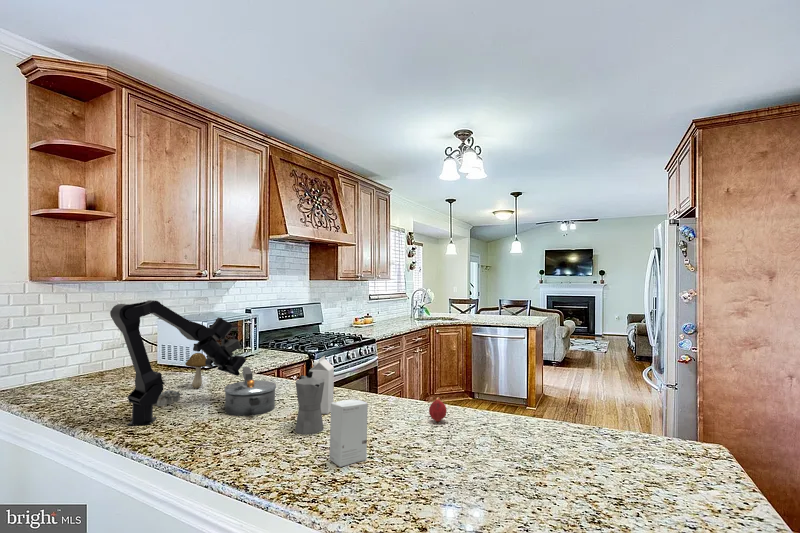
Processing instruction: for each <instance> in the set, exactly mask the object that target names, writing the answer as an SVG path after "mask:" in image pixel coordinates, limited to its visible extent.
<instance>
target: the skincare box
mask: <svg viewBox="0 0 800 533" xmlns="http://www.w3.org/2000/svg"><path fill="white" fill-rule="evenodd" d="M368 405H369V403H368V402H366V401H365V400H362V399H357V398H355V399H345V400H339V401H333V402H332V403H331V411H330V422H329V424H330V425H329V430H330V431H329V461H331V462H333V464H335V465H337V466H338V467H339V468H341V467H342V468H343V467H345V466H348V465H351V464H355V463H359V462H363V461H366V460H367V456H368V455H367V450H368V447H367V446H368V411H369V410H368V408H369V406H368Z"/></svg>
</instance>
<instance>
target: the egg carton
mask: <svg viewBox="0 0 800 533" xmlns="http://www.w3.org/2000/svg"><path fill="white" fill-rule="evenodd" d="M182 394H183V392H180V391H176V390H171V389H167V390H165V391H162V393H161V394H160V395H159V398H158V401H157V403H156V404H153V406H157V407H163V406H167V404H173V403H174V402H179V401H181V396H182Z"/></svg>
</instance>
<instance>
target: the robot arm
mask: <svg viewBox="0 0 800 533" xmlns="http://www.w3.org/2000/svg"><path fill="white" fill-rule="evenodd" d="M109 314H110V315H109V316H110V317H111V320H112V321H113V323H114V325H115V326H116V328H117V329H118V330H119V331H120V332H121V334H122V336H123V338H124V342H125V345H126V348H127V350H128V354H129V356H130V359H131V362H132V365H133V369H134V371H135V377H134V378H135V379H134V386H135V388H134V389H133V390H132V391H131V392H130V393H129V394H128V396H127V400H128V403H131V404H132V408H131V410H132V411H131V413H132V415H131V416H132V417H131V421H129V422H128V423H127V424H126V425H127V426H146V425H147V426H149V425H151V424H152V423H153V422H154V421H156V420H157V416H154V415H153V412H154V410H153V409H154V405H153V404H156V403H157V401H158V398H159V395H160V394H161V393H162V392H164V385H165V383H166V382H165V381H163V377H162V376H163V375H162V372H159V371H155V370H153V368H152V365H151V362H150V359H149V356H148V353H147V349H146V346H145V343H144V341H143V338H142V335H141V332H140V325H141V318H142V317H143V318H144V317H146V316H148V315H151V314H152V315H153V316H155V317H157V318H158V319H159V320H162V321H163V322H165V323H167V324H169V325H170V326H172V327H174V328H175V329H177V330H178V331H179V333H180V334H181V335H182V336H184V337H185V338H186V339H187V340H189V341H196V342H197V343H193V348H192V349H193V350H192V351H193V352H196V353H200V352H201V351H202V352H203V354H204V355H205V357H206V358H207V360H206V361H205V364H206V365H207V366H206V367H207V368H211V369H213V367H214V366H216V367H217V368H216V369H217V370H218V371H221V372H225V373H227V374H231V375H233V376H237V377H238V376H239V375H240V369H241V368H243V365H244V364H245V363H246V362H247V359H246V357H245V356H243V355H239V354H238V355H234V352H235V351H237V350H239V349H241V344H240V342H239V339H234V338H231V339H228V338H226V337H227V335H228V334H229V333H230V332H231V331H232V329H234V328H233V325H232V324H231V323H230V322H229V321H227V320H225V319H223V318H222V317H217V318H216V319H215V321H214V322H213V323H212V324H211V325H210V327H207V326H206V325H204V324H202V323H198V322H195V321H192V320H189V319H187V318H185V317H184V316H182V315H180V314H179V313H177V312H176V311H174V310H172V309H171V308H168V307H167V306H165V305H164V304H162V303H161V302H160V301H158V300H154V299H153V300H152V299H148V300H146V301H141V302H136V303H131V304H130V303H128V304H127V303H117V304H115V305H114V306H113V307H112V308H111V310H110V312H109ZM219 340H220V341H221V344H220V343H219V342H218V341H219ZM233 355H234V356H233ZM213 365H214V366H213Z"/></svg>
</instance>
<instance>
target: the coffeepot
mask: <svg viewBox="0 0 800 533" xmlns="http://www.w3.org/2000/svg"><path fill="white" fill-rule="evenodd" d="M312 374H313V372H311V371H309V370H308V371H307V375H308V376H307V375H304V374H301V375H300V376H299V377H298V379H296V380H295V388H296V396H297V404H298V409H297V417H296V422H295V427H294V428H295V430H294V431H295V433H297V434H298V435H299V434H300V435H315V434H318V433H321V432H323V431H324V422H323V415H322V413H321V401H322V395H323V388H324V379H319V378H314V377H312Z"/></svg>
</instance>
